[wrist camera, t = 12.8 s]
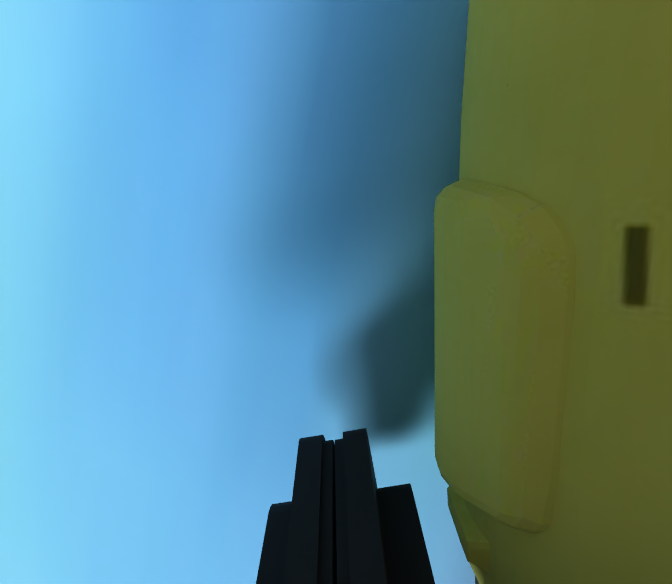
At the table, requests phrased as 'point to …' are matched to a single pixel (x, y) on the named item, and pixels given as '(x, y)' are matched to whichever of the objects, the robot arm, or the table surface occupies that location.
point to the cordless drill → (559, 295)
